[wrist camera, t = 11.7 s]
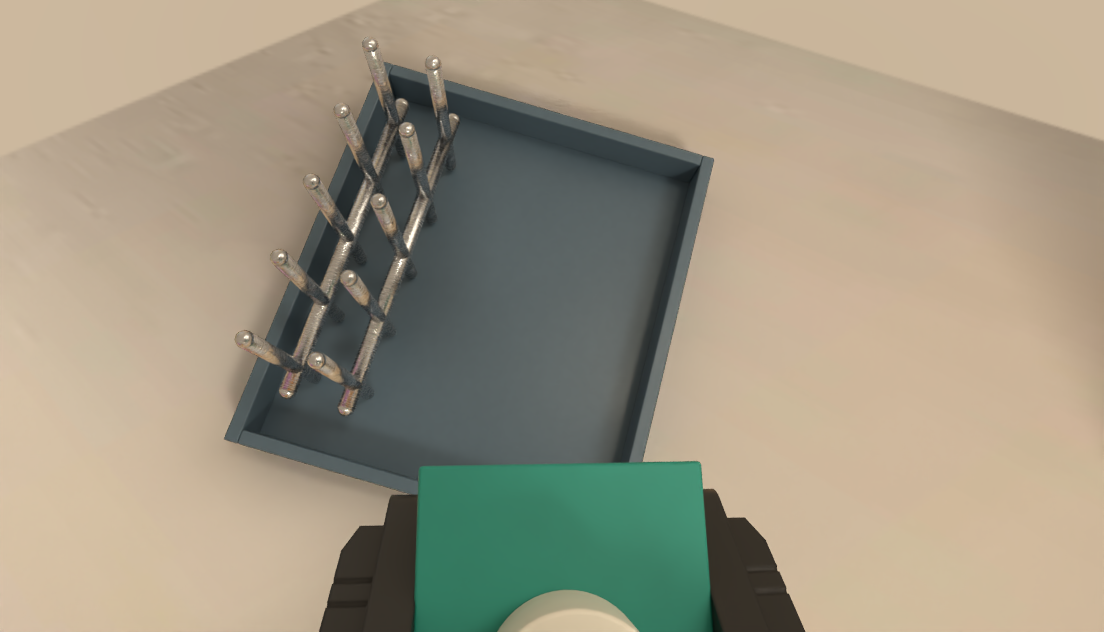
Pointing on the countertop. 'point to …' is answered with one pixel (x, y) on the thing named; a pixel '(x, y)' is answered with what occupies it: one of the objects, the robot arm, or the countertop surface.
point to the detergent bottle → (562, 548)
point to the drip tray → (494, 298)
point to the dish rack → (349, 231)
